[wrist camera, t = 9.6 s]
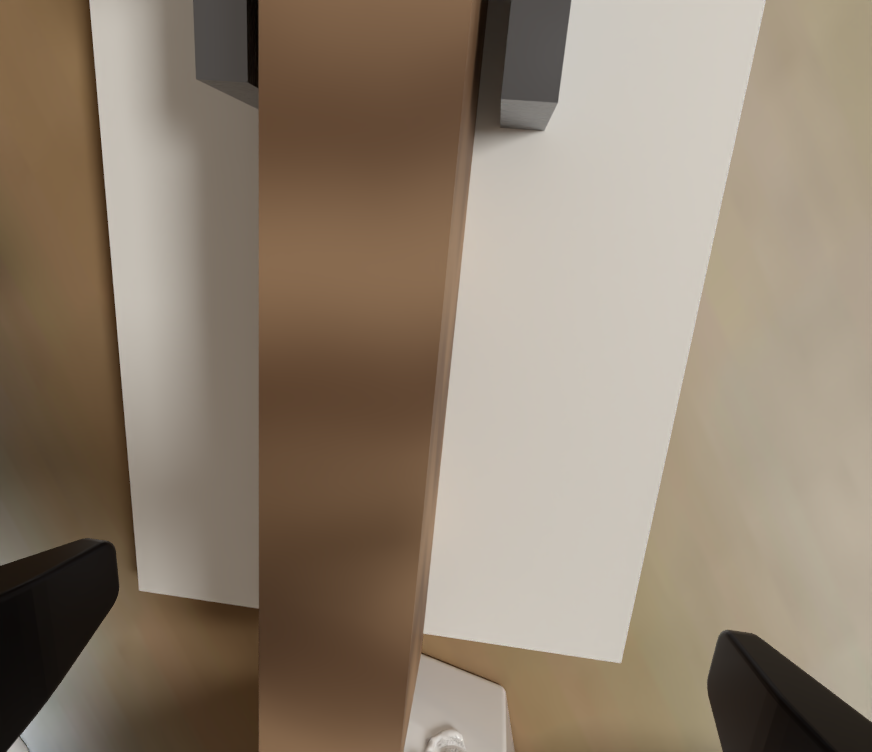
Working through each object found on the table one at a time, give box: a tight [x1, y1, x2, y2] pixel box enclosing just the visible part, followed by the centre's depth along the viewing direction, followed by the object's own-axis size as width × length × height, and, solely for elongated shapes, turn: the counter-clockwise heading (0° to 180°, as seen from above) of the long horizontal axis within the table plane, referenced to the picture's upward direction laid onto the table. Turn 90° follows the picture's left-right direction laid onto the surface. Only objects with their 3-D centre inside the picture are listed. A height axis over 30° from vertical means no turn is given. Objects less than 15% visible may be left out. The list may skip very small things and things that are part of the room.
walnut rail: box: [259, 0, 488, 752], centre depth 15 cm, size 22×4×5 cm, turn 175°
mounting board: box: [89, 0, 766, 663], centre depth 17 cm, size 23×18×1 cm
